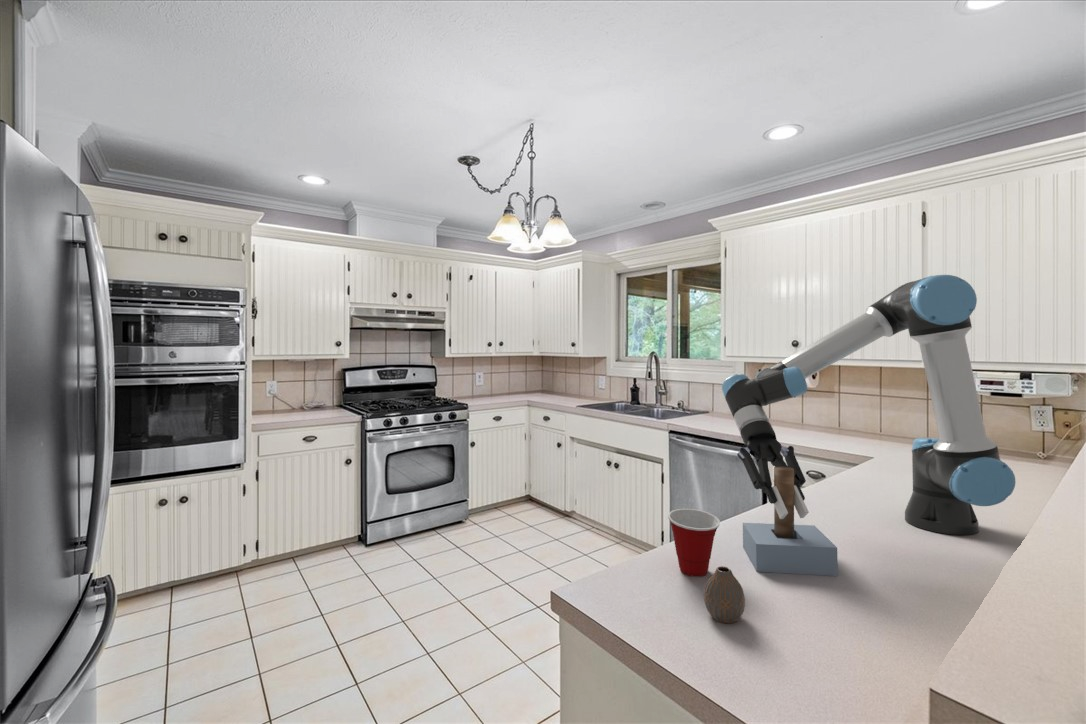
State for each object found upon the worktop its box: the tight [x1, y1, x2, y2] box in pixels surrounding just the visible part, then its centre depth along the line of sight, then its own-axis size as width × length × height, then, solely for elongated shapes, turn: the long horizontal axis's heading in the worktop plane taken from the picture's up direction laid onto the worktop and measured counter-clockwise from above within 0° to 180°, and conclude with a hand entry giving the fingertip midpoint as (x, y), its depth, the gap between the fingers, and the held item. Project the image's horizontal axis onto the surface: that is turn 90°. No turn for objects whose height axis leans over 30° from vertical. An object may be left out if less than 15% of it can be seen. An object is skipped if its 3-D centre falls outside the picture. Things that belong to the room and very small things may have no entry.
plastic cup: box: [667, 508, 721, 578], centre depth 106 cm, size 11×11×12 cm
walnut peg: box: [773, 466, 795, 538], centre depth 110 cm, size 4×4×15 cm
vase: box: [703, 565, 746, 624], centre depth 88 cm, size 7×7×9 cm
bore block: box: [742, 522, 839, 577], centre depth 110 cm, size 16×13×6 cm
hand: (794, 515), depth 106 cm, fingers closed on walnut peg, 4 cm apart
